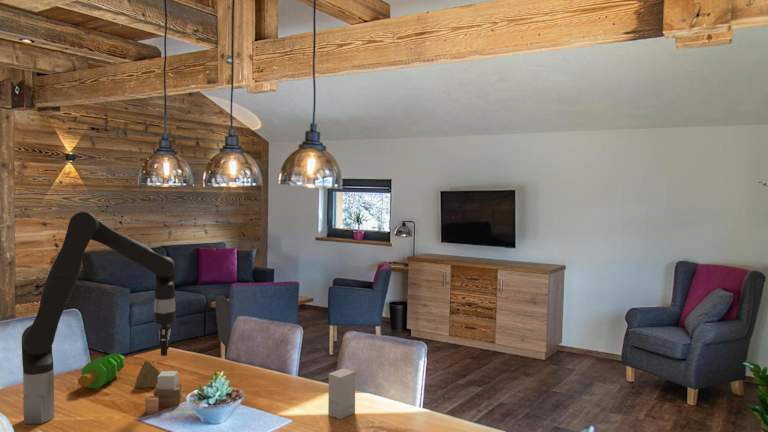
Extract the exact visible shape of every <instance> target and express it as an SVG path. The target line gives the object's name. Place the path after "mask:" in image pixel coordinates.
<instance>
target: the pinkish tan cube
mask: <svg viewBox="0 0 768 432" xmlns="http://www.w3.org/2000/svg"><path fill="white" fill-rule="evenodd" d="M144 410H145V411H144V413H145V414H146V415H155V414H157V413H159V410H160V409H159V397H157V396H154V395H151V396H147V397H145V399H144Z"/></svg>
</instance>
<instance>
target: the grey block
mask: <svg viewBox="0 0 768 432" xmlns="http://www.w3.org/2000/svg"><path fill="white" fill-rule="evenodd" d="M178 382H179V370H173V371H172V370H170V371H169V370H167V371H165V370H163V371H161V372H160V374H159V375H158V389H175V387H176V386H177V385H178Z"/></svg>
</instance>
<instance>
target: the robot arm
mask: <svg viewBox="0 0 768 432" xmlns="http://www.w3.org/2000/svg"><path fill="white" fill-rule="evenodd" d="M90 241H95V242H97V243H100V244H102V245H104V246H106V247H108V248H109V249H112V251H114V252H116V253H118V255H121V256H122V257H124V258H126V259H128V260H130V261H132V262H134V263H135V264H138V265H141V266H142V267H144V268H145V269H146V270H148V271H150V272H152V273H153V274H155V286H154V301H153V302H154V304H153V310H154V311H153V314H154V315H153V320H154V321H153V322H154V323H155V324H156V325H160V326H159V328H158V333H159V335H158V336H159V337H158V338H159V346H160V356H161V357H166V356H168V350H169V348H170V336H171V326H170V325H171V324H174V323H175V322H176V300H175V293H176V292H175V290H176V289H175V267H176V266H175V261H174V259H173V258H171V257H169V256H166V255H165V256H163V255H162V254H159V253H157V252H155V251H154V250H153V249H152V248H151V247H148V246H147V245H145V244H143V243H141V242H139V241H138V240H136V239H133V238H131V237H128V236H127V235H125V234H122V233H119V232H118V231H116V230H114V229H112V228H111V227H109V226H107V225H106V224H105V223H103V222H102V221H101V220H99V219H98V218H97V217H96V216H95V215H94V214H92V213H90V212H88V211H79V212H76V213H74V214H73V215H72V216H71V217H70V219H69V222H68V226H67V229H66V234H65V238H64V240H63V244H62V246H61V248H60V250H59V252H58V253H57V256H55V257H56V258H55V260H54V262H53V264H52V266H51V268H50V270H49V272H48V275H47V277H46V280H45V281H44V285H43V289H42V293H41V297H40V301H39V307H38V311H37V314H36V316H35V318H34V320H33V322H32V324H31V325H29V326H27V327H26V328H25V329H24V331H23V333H22V335H21V360H22V379H23V380H22V381H23V387H22V388H23V398H22V400H23V402H22V405H23V406H22V407H23V411H22V412H23V425H35V424H38V425H39V424H44V423H45V422H48V421H51V420H53V419H54V418H55V384H54V383H55V382H54V381H55V379H54V376H55V375H54V373H55V371H54V357H53V344H54V342H55V336H56V335H57V334H56V333H57V331H58V326H59V323H60V320H61V317H62V315H63V312H64V310H65V308H66V307H67V305H68V302H69V300H70V298H71V296H72V294H73V291H74V289H75V287H76V284H77V282H78V278H79V275H80V272H81V269H82V268H81V267H82V262H83V259H84V258H83V257H84V254H85V251H86V249H87V247H88V246H89V244H90Z"/></svg>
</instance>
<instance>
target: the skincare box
mask: <svg viewBox="0 0 768 432" xmlns="http://www.w3.org/2000/svg"><path fill="white" fill-rule="evenodd" d="M327 403H328V411H327V413H328V416H329V417H330V416H331V417H333V418H335V417H336V419H339V420H342V419H344V418H346V417H348V416H351V415H353V414H355V413H356V371H355V370H350V369H347V368H344V367H343V368H340V369H338V370H335V371H332V372H330V373H328V402H327Z"/></svg>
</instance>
